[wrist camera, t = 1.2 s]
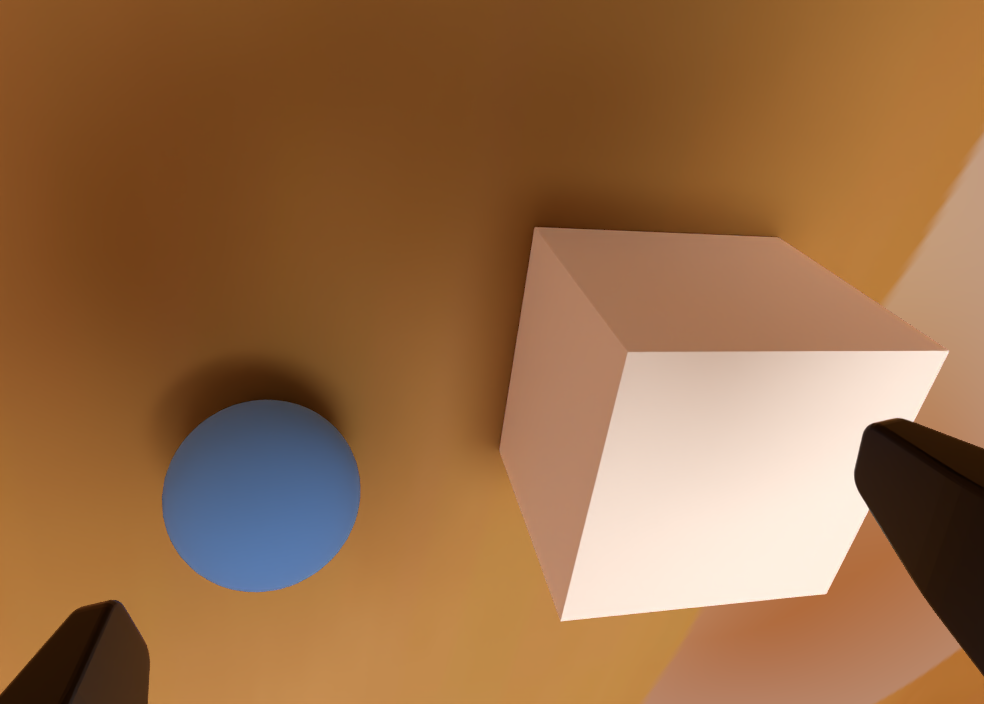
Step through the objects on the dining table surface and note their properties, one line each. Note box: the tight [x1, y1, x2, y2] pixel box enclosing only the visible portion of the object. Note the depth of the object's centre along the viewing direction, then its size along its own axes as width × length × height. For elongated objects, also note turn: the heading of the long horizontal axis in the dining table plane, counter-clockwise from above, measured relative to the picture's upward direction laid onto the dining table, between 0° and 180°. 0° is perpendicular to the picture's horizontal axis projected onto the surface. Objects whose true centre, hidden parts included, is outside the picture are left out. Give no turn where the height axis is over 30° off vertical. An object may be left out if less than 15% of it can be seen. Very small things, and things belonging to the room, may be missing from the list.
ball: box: [162, 400, 360, 592], centre depth 19 cm, size 5×5×5 cm
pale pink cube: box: [499, 227, 949, 621], centre depth 19 cm, size 8×8×7 cm
